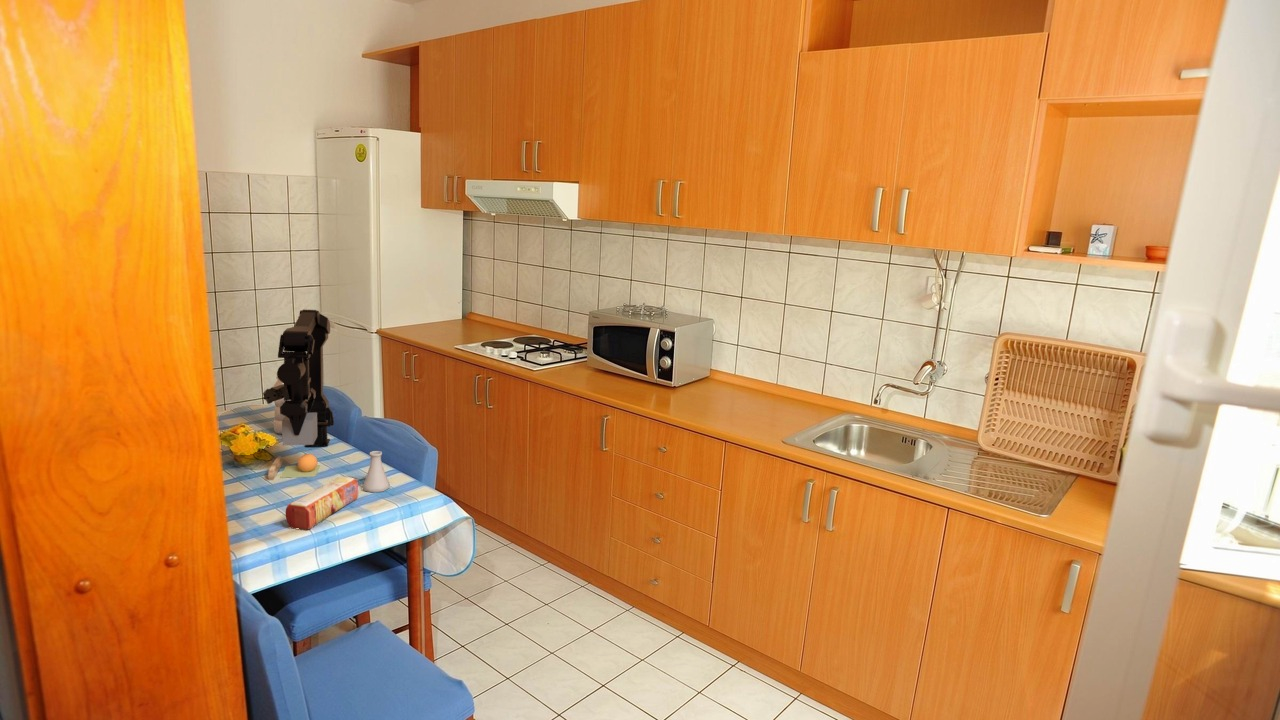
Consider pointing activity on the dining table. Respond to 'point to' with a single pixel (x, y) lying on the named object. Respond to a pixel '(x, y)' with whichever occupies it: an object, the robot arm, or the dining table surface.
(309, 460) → the ball
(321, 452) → the dining table surface
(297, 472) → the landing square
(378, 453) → the flask
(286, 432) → the smooth grey cube
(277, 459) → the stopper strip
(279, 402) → the plastic bottle
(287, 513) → the snack package
